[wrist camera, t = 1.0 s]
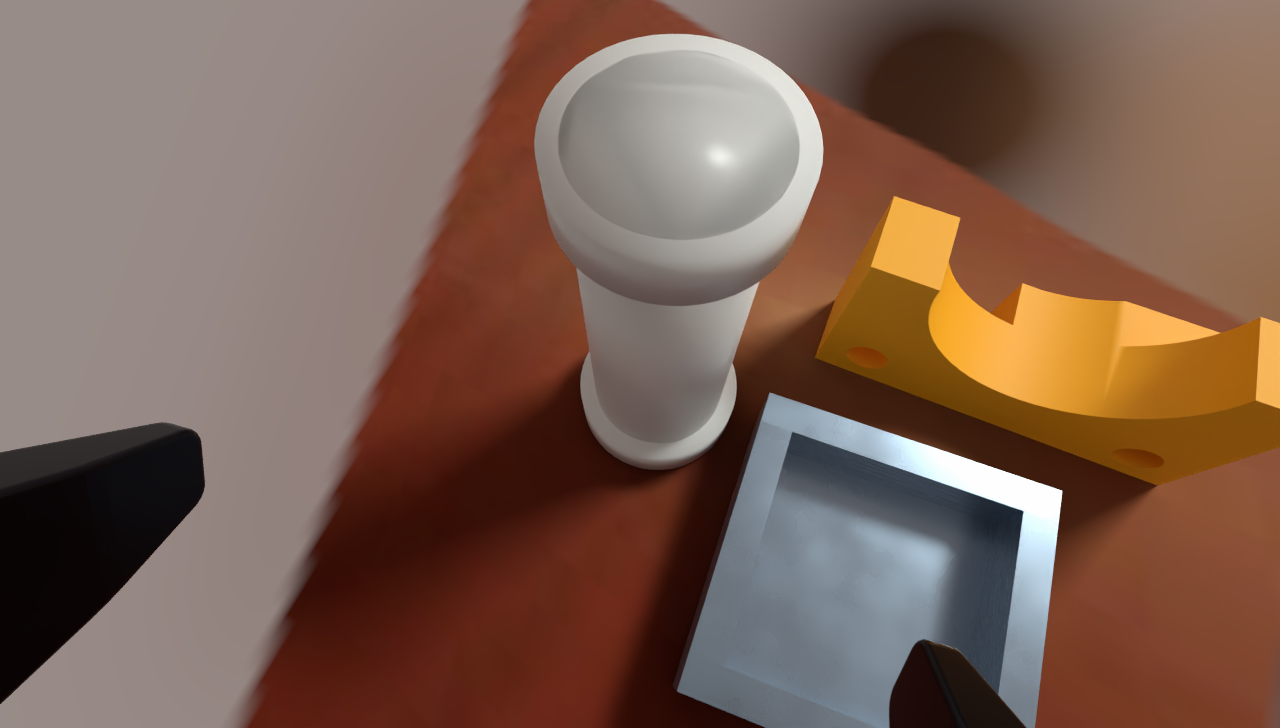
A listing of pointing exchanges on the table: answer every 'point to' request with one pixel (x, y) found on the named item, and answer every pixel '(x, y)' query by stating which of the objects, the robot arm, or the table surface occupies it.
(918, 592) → the blue-grey square tray
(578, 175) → the white domed pillar
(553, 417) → the table surface
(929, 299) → the pipe clamp
